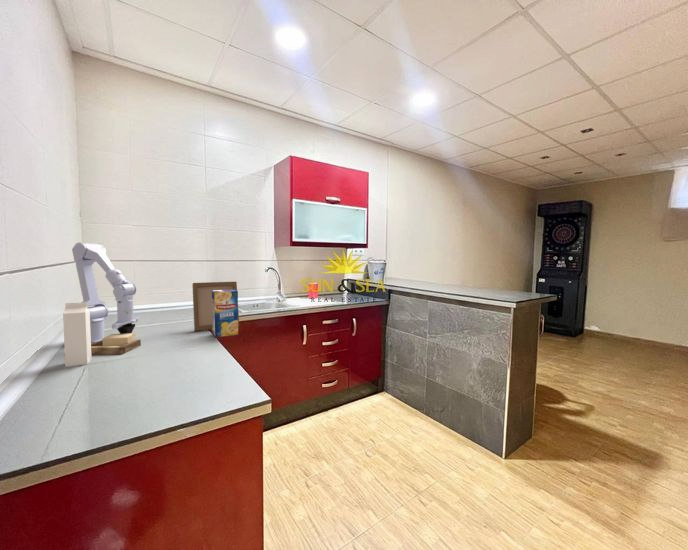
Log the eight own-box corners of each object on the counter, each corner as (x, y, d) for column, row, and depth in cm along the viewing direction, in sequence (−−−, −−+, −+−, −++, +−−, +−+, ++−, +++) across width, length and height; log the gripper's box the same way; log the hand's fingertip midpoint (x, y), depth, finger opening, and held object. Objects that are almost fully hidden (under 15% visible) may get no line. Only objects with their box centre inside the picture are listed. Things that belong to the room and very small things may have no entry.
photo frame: (239, 327, 162) (238, 282, 161) (195, 332, 151) (194, 283, 149) (233, 322, 175) (233, 280, 173) (192, 326, 163) (191, 281, 162)
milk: (87, 364, 106) (85, 303, 104) (64, 367, 103) (62, 304, 101) (91, 359, 111) (89, 301, 110) (70, 361, 108) (67, 302, 107)
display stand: (80, 354, 116) (79, 347, 116) (102, 345, 127) (101, 339, 127) (122, 354, 117) (122, 347, 117) (140, 345, 128) (140, 339, 128)
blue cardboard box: (212, 334, 148) (211, 290, 147) (234, 331, 154) (234, 289, 153) (214, 337, 142) (214, 292, 141) (238, 334, 149) (238, 290, 147)
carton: (102, 350, 121) (102, 338, 121) (112, 345, 128) (111, 333, 128) (127, 349, 123) (127, 337, 123) (135, 344, 130) (135, 332, 130)
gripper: (123, 313, 123) (124, 345, 124) (144, 307, 138) (145, 336, 138) (106, 313, 123) (107, 346, 124) (128, 307, 137) (129, 336, 138)
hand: (126, 341), depth 131 cm, fingers closed
